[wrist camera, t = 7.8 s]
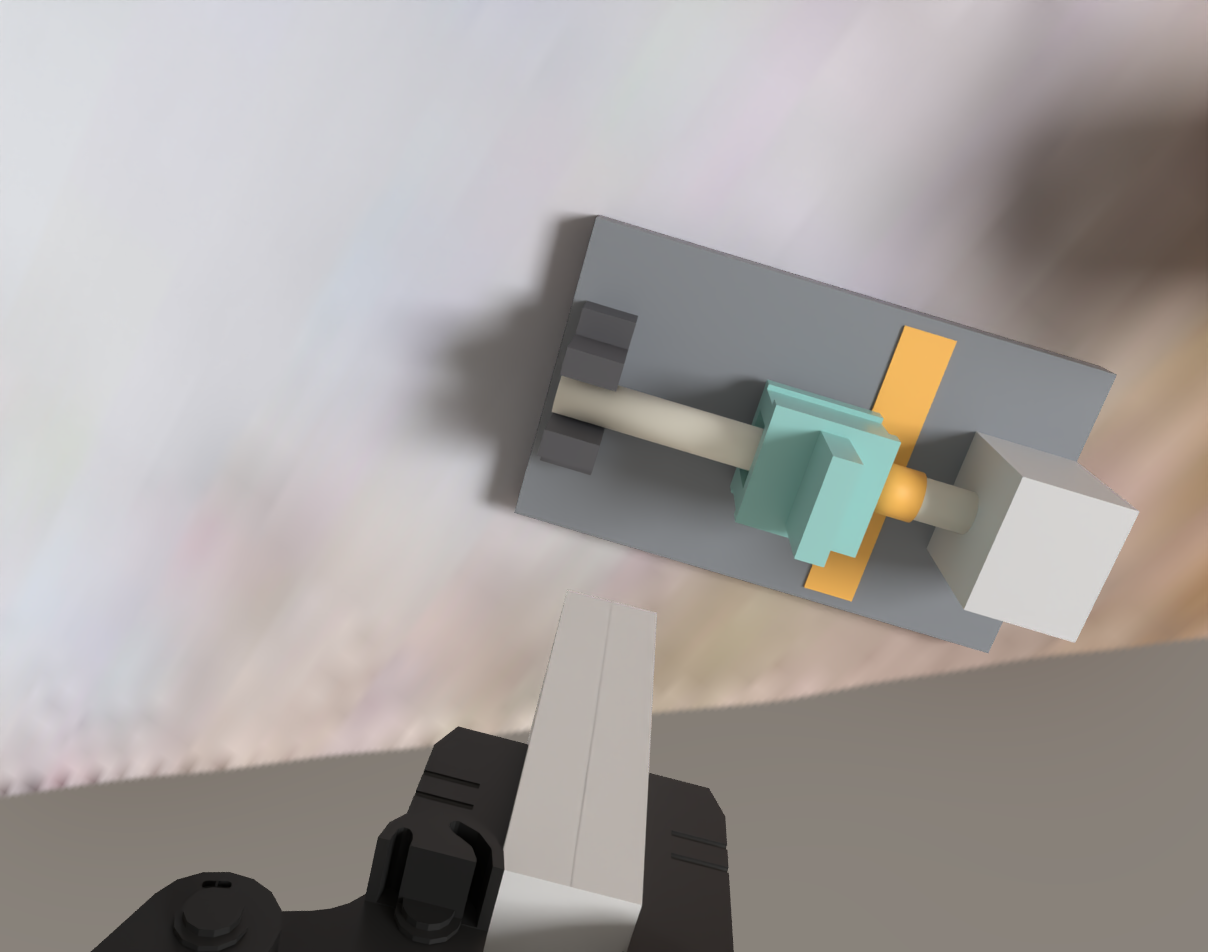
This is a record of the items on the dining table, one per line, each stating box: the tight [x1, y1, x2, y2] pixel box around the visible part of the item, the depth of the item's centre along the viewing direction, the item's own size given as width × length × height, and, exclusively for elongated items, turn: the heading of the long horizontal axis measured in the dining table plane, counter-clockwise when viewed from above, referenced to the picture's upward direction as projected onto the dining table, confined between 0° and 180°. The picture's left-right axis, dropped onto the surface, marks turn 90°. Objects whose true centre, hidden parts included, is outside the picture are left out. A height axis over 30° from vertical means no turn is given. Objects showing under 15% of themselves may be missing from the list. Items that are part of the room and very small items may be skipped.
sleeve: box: [730, 379, 901, 567], centre depth 35 cm, size 4×4×7 cm
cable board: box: [514, 215, 1139, 653], centre depth 37 cm, size 12×20×7 cm, turn 74°
